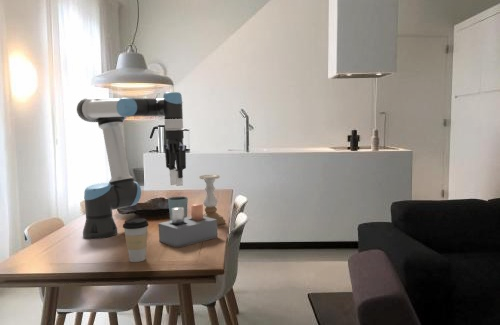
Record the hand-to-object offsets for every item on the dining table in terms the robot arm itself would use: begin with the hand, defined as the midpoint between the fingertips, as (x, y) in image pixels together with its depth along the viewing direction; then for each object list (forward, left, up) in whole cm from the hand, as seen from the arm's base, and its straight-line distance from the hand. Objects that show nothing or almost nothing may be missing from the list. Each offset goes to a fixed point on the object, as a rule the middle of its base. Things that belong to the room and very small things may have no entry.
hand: (176, 185), depth 181 cm
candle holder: (+30, +16, -25) cm, 42 cm away
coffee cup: (-24, -8, -25) cm, 35 cm away
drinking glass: (+22, +33, -25) cm, 47 cm away
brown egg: (+10, 0, -17) cm, 20 cm away
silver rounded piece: (0, 0, -17) cm, 17 cm away
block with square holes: (+5, 0, -25) cm, 25 cm away
